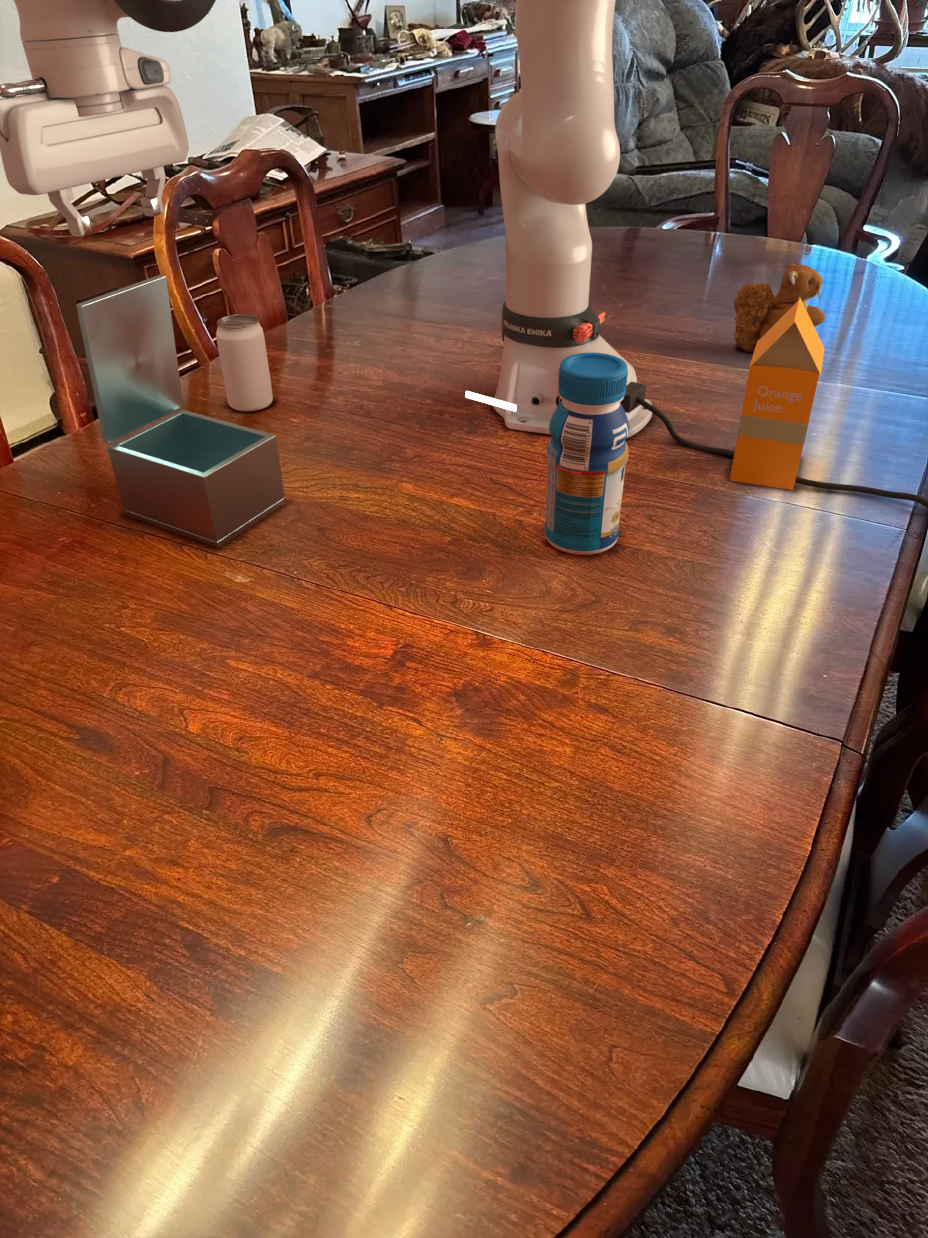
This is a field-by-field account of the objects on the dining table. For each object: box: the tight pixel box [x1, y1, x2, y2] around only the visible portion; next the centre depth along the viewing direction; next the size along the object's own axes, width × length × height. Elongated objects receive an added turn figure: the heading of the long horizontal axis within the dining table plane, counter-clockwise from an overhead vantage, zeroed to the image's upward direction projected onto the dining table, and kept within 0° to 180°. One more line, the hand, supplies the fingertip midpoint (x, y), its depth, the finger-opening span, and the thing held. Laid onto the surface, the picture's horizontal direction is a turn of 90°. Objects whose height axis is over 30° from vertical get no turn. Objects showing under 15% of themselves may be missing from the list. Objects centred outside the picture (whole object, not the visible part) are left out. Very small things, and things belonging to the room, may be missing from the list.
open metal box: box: [106, 409, 287, 549], centre depth 106 cm, size 15×12×9 cm
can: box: [215, 313, 274, 413], centre depth 129 cm, size 6×6×12 cm
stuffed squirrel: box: [733, 262, 826, 353], centre depth 143 cm, size 10×14×13 cm
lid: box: [75, 274, 184, 444], centre depth 102 cm, size 16×12×5 cm
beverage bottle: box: [544, 353, 629, 556], centre depth 96 cm, size 8×8×20 cm
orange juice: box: [729, 298, 826, 491], centre depth 109 cm, size 8×9×20 cm
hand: (119, 224), depth 97 cm, fingers open, 8 cm apart
